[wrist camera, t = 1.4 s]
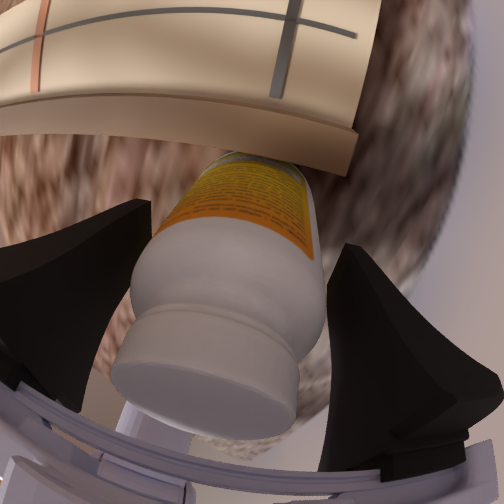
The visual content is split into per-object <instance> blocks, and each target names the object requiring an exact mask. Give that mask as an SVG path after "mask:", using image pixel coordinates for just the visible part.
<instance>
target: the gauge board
mask: <svg viewBox="0 0 504 504" xmlns="http://www.w3.org/2000/svg"><path fill="white" fill-rule="evenodd" d="M380 5H381V0H26V1H24V2H22V3H20V4H19V5H17V6H15V7H13V8H11V9H10V10H8V11H6V12H5V13H3V14H1V15H0V136H4V135H22V134H91V135H110V136H124V137H137V138H147V139H157V140H166V141H174V142H181V143H189V144H196V145H202V146H209V147H215V148H221V149H227V150H233V151H238V152H243V153H248V154H254V155H258V156H263V157H268V158H273V159H277V160H282V161H286V162H290V163H295V164H299V165H303V166H307V167H311V168H315V169H319V170H322V171H326V172H330V173H333V174H337V175H341V176H344V177H346V174H347V171H348V168H349V165H350V162H351V158H352V155H353V152H354V149H355V145H356V142H357V139H358V135H359V134H357V133H356V132H355V131H354V130H353V129H352V125H353V121H354V118H355V114H356V110H357V107H358V103H359V99H360V95H361V91H362V87H363V83H364V79H365V75H366V71H367V67H368V63H369V58H370V54H371V50H372V45H373V41H374V36H375V31H376V26H377V21H378V16H379V11H380Z"/></svg>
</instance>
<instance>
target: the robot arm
mask: <svg viewBox="0 0 504 504" xmlns="http://www.w3.org/2000/svg"><path fill="white" fill-rule="evenodd" d="M151 239H152V228H151V201H148V200H142V199H133V200H130V201H127V202H125V203H122V204H120V205H117V206H115V207H113V208H111V209H108V210H106V211H104V212H102V213H99V214H97V215H95V216H93V217H90V218H88V219H86V220H83V221H81V222H79V223H76V224H74V225H72V226H69V227H67V228H64V229H62V230H59V231H57V232H54V233H51V234H48V235H45V236H42V237H39V238H36V239H32V240H29V241H26V242H22V243H19V244H15V245H11V246H7V247H3V248H0V479H1V480H2V482H1V486H0V504H196V491H195V489H194V487H193V486H192V484H191V483H190V482H194V483H199V484H203V485H208V486H213V487H219V488H225V489H230V490H237V491H244V492H252V493H262V494H274V495H294V496H323V495H324V496H325V495H332V496H331V497H329V498H328V499H324V500H303V501H291V502H288V503H274V504H490V503H492V502H494V501H495V500H497V499H498V497H499V495H498V481H497V471H496V463H495V456H494V451H493V444H492V440H491V439H489V440H486V441H483V442H480V443H477V444H474V445H471V446H469V447H466V448H465V447H464V441H466V440H467V439H468V438H469V432H468V429H469V428H470V427H472V426H473V425H475V424H476V423H478V422H479V421H481V420H482V419H483V418H485V417H486V416H488V415H489V414H490V413H492V412H493V411H494V410H495V409H496V408H497V407H498V406H499V405H500V404H501V402H502V401H503V399H504V391H503V388H502V385H501V382H500V379H499V377H498V375H497V374H496V373H494V372H493V371H491V370H490V369H488V368H486V367H485V366H483V365H482V364H480V363H478V362H477V361H475V360H474V359H473V358H471V357H470V356H469V355H467V354H466V353H465V352H463V351H462V350H460V349H459V348H458V347H457V346H455V345H454V344H453V343H452V342H450V341H449V340H448V339H447V338H446V337H445V336H444V335H442V334H441V333H440V332H439V331H438V330H437V329H436V328H434V327H433V326H432V325H431V324H430V323H429V322H428V321H427V320H426V319H425V318H424V317H423V316H422V315H421V314H420V313H419V312H418V311H417V310H416V309H415V308H414V307H413V306H412V305H411V304H410V303H409V301H408V300H407V299H406V298H405V297H404V296H403V295H402V294H401V292H400V291H399V290H398V289H397V288H396V287H395V285H394V284H393V283H392V282H391V281H390V280H389V278H388V277H387V276H386V275H385V274H384V272H383V271H382V270H381V269H380V268H379V266H378V265H377V264H376V263H375V262H374V260H373V259H372V258H371V257H370V256H369V255H368V254H367V253H366V251H365V250H364V249H363V248H361V247H360V246H356V245H352V244H348V243H345V245H344V247H343V250H342V252H341V254H340V257H339V259H338V261H337V263H336V266H335V268H334V270H333V273H332V275H331V277H330V279H329V281H328V284H327V318H328V328H329V338H330V348H331V362H332V375H331V393H330V404H329V414H328V421H327V428H326V434H325V440H324V445H323V450H322V455H321V459H320V463H319V468H318V471H317V472H300V471H284V470H272V469H262V468H254V467H247V466H240V465H234V464H228V463H222V462H217V461H212V460H207V459H203V458H199V457H195V456H190V455H188V453H189V448H190V445H191V441H192V437H193V433H190V432H186V431H183V430H180V429H177V428H175V427H172V426H170V425H167V424H165V423H163V422H161V421H158V420H156V419H154V418H152V417H150V416H149V415H147V414H145V413H143V412H142V411H140V410H139V409H137V408H136V407H134V406H133V405H132V404H130V403H129V402H128V401H126V404H125V406H124V409H123V412H122V414H121V417H120V419H119V422H118V425H117V427H116V430H115V431H114V430H112V429H109V428H107V427H105V426H102V425H100V424H98V423H95V422H94V421H91V420H89V419H87V418H85V417H83V416H81V415H79V414H77V413H79V412H81V408H82V403H83V398H84V394H85V390H86V385H87V381H88V378H89V375H90V371H91V368H92V365H93V362H94V359H95V356H96V353H97V350H98V348H99V345H100V342H101V340H102V337H103V335H104V333H105V330H106V328H107V326H108V323H109V321H110V319H111V317H112V315H113V313H114V311H115V310H116V308H117V306H118V305H119V303H120V301H121V300H122V298H123V297H124V295H125V293H126V292H127V290H128V289H129V287H130V284H131V277H132V273H133V270H134V267H135V265H136V263H137V261H138V259H139V257H140V255H141V254H142V252H143V250H144V249H145V247H146V246H147V244H148V243H149V242H150V240H151ZM50 425H52V426H54V427H55V428H57V429H59V430H61V431H62V432H64V433H66V434H68V435H70V436H71V437H73V438H75V439H77V440H79V441H81V442H83V443H85V444H87V445H89V446H91V447H93V448H96V449H98V450H97V451H94V452H92V453H91V454H90V455H89V454H88V453H86V452H84V451H83V450H81V449H80V448H78V447H77V446H76V445H74V444H73V443H72V442H70V441H68V440H66V439H65V438H63V437H62V436H60V435H58V434H57V433H55V432H53V431H52V427H51V426H50ZM189 481H190V482H189Z"/></svg>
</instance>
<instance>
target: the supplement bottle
mask: <svg viewBox="0 0 504 504" xmlns="http://www.w3.org/2000/svg"><path fill="white" fill-rule="evenodd" d="M130 298H131V303H132V308H133V311H134V314H135V317H136V320H135V322H134V324H133V325H132V326H131V327H130V329H129V330H128V332H127V334H126V336H125V338H124V341H123V343H122V345H121V347H120V350H119V352H118V354H117V356H116V358H115V361H114V363H113V365H112V368H111V380H112V383H113V385H114V386H115V388H116V389H117V391H118V392H119V393H120V394H121V395H122V396H123V397H124V398H125V399H126V400H127V401H128V402H129V403H130V404H132V405H133V406H134V407H136V408H137V409H139V410H140V411H142V412H143V413H145V414H147V415H149V416H150V417H152V418H154V419H156V420H158V421H161V422H163V423H165V424H167V425H170V426H172V427H175V428H177V429H180V430H183V431H186V432H190V433H193V434H197V435H201V436H206V437H211V438H218V439H226V440H257V439H264V438H270V437H273V436H277V435H280V434H282V433H284V432H285V431H287V430H288V429H290V428H291V426H292V425H293V424H294V422H295V419H296V413H297V400H298V387H299V381H300V374H299V369H298V365H297V362H299V361H300V360H301V359H302V358H304V357H305V356H306V355H307V354H308V353H309V352H310V351H311V350H312V348H313V347H314V346H315V344H316V343H317V341H318V339H319V337H320V335H321V332H322V329H323V326H324V322H325V313H326V295H325V282H324V274H323V265H322V257H321V249H320V241H319V234H318V227H317V220H316V213H315V206H314V201H313V197H312V193H311V190H310V187H309V185H308V182H307V181H306V179H305V177H304V176H303V174H302V173H301V172H300V171H299V170H298V169H297V168H296V167H295V166H294V165H293V164H292V163H290V162H286V161H282V160H277V159H273V158H268V157H263V156H258V155H254V154H248V153H243V152H238V151H234V152H231V153H228V154H226V155H223V156H222V157H220V158H218V159H217V160H215V161H214V162H213V163H212V164H211V165H210V166H209V167H207V168H206V170H205V171H204V172H203V173H202V174H201V175H200V177H199V178H198V179H197V180H196V182H195V183H194V184H193V185H192V187H191V188H190V189H189V190H188V192H187V193H186V194H185V195H184V197H183V198H182V199H181V201H180V202H179V203H178V204H177V206H176V207H175V208H174V210H173V211H172V212H171V213H170V215H169V216H168V217H167V219H166V220H165V221H164V223H163V224H162V225H161V227H160V228H159V229H158V231H157V232H156V233H155V235H154V236H153V237H152V239H151V240H150V242H149V243H148V244H147V246H146V247H145V249H144V250H143V252H142V254H141V255H140V257H139V259H138V261H137V263H136V265H135V267H134V270H133V273H132V277H131V284H130Z"/></svg>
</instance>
